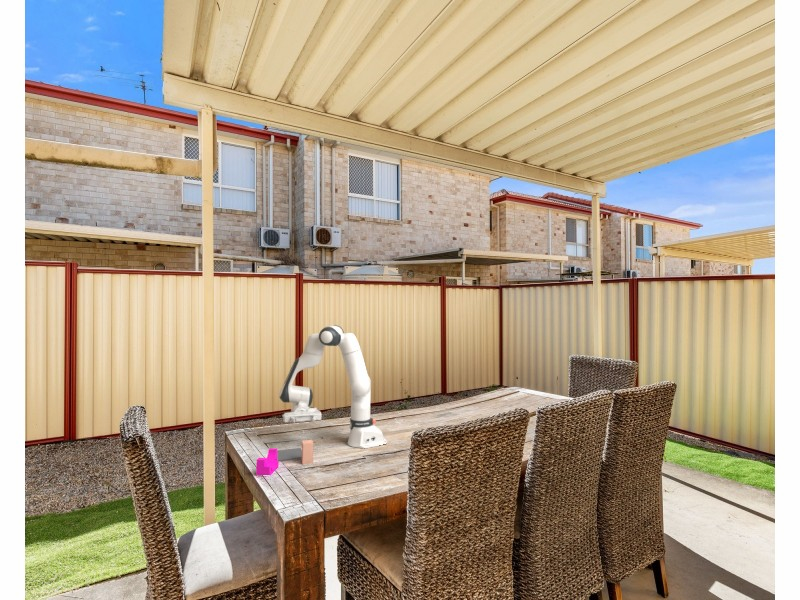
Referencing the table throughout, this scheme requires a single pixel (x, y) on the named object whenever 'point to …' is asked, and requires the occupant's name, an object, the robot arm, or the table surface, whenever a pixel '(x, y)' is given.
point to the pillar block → (307, 452)
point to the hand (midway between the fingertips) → (304, 420)
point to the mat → (289, 454)
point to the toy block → (267, 463)
